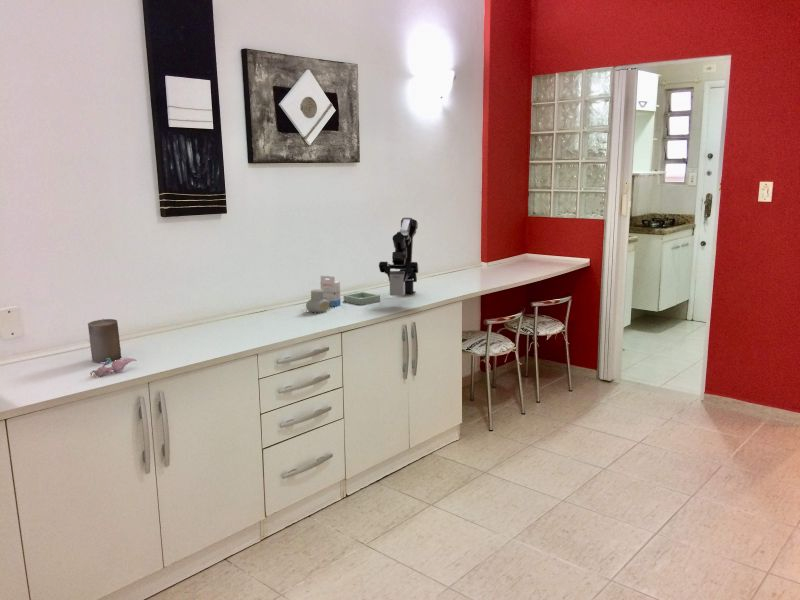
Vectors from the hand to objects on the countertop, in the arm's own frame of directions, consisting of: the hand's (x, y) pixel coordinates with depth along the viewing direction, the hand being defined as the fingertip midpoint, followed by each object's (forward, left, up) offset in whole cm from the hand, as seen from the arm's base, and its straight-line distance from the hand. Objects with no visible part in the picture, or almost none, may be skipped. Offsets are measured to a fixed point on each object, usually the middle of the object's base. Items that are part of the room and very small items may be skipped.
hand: (396, 281), depth 317 cm
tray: (-1, -22, -12) cm, 25 cm away
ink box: (+15, -29, -13) cm, 35 cm away
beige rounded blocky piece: (+29, -25, -13) cm, 40 cm away
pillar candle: (+129, -36, -13) cm, 134 cm away
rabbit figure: (+136, -20, -13) cm, 138 cm away
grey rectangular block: (-1, -1, -7) cm, 7 cm away
